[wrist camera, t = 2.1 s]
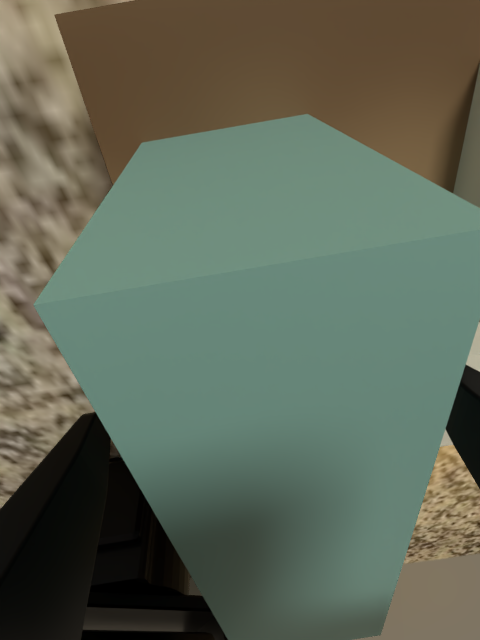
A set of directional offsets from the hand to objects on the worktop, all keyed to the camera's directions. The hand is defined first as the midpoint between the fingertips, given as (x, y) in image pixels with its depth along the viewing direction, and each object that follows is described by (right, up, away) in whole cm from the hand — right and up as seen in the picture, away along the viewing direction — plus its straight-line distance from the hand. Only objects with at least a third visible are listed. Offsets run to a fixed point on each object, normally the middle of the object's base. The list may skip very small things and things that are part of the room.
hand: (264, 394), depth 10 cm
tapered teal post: (0, +2, +2) cm, 3 cm away
